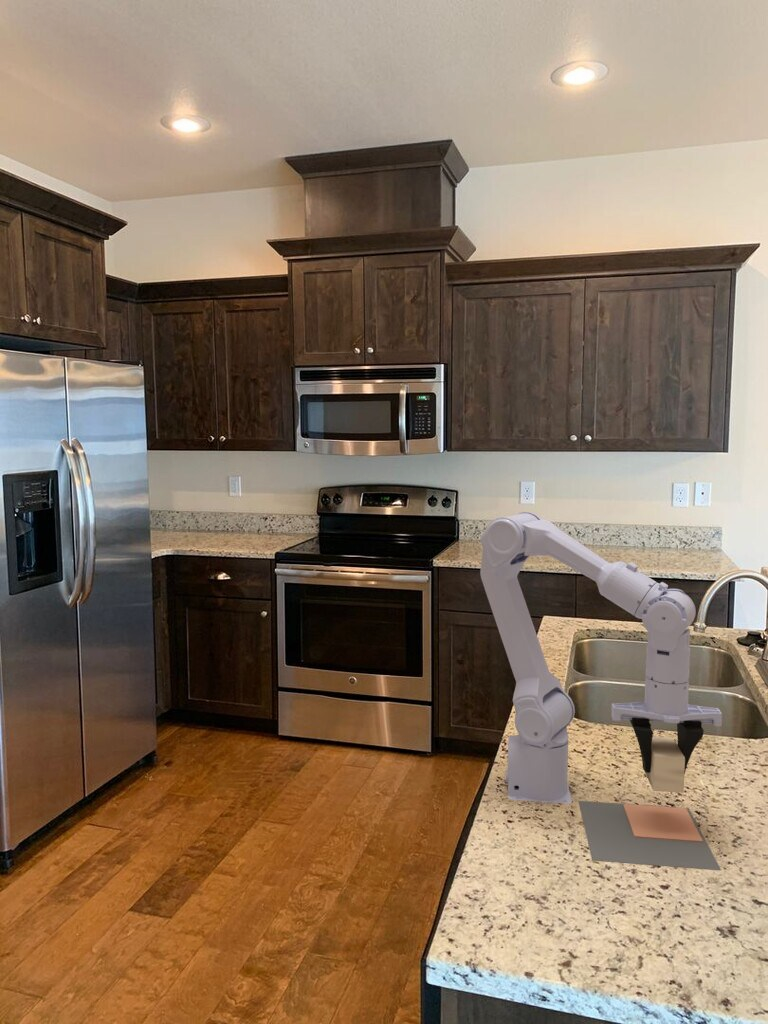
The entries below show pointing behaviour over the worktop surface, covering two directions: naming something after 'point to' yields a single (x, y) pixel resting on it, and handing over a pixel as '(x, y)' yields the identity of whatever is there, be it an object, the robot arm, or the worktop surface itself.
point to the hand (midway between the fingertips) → (663, 770)
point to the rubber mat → (645, 835)
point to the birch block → (666, 766)
